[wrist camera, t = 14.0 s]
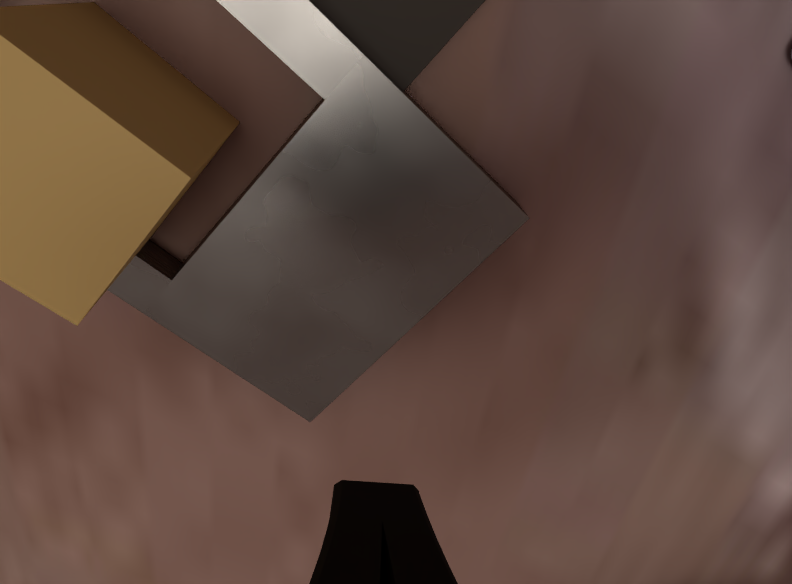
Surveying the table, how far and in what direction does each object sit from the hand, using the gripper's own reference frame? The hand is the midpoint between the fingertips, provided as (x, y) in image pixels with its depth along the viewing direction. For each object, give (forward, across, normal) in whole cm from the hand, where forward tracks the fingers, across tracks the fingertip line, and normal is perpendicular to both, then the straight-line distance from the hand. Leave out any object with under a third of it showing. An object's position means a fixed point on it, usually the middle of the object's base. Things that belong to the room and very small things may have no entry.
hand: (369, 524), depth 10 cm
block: (+10, +7, -4) cm, 13 cm away
